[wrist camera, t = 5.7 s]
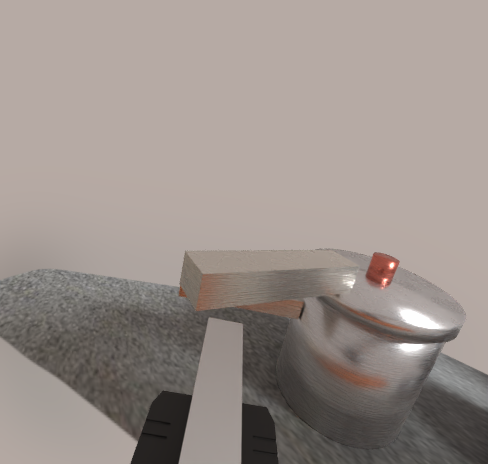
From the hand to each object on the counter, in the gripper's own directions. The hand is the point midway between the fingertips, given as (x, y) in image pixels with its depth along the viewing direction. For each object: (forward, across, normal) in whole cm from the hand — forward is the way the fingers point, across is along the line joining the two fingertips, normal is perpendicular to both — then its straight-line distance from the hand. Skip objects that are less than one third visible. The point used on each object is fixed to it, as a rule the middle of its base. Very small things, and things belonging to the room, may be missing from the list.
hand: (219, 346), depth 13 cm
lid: (+13, +10, -3) cm, 16 cm away
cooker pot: (+16, +9, -15) cm, 24 cm away
